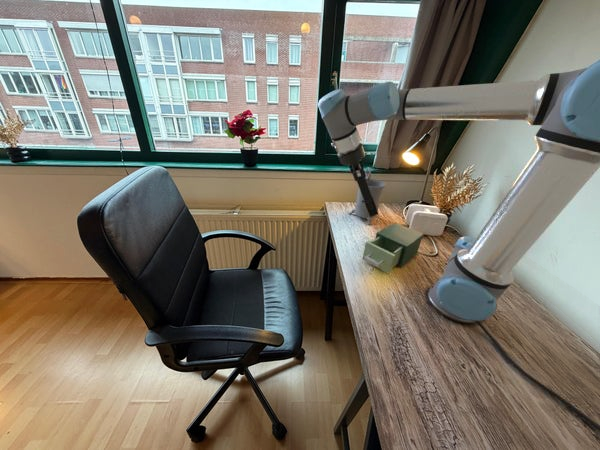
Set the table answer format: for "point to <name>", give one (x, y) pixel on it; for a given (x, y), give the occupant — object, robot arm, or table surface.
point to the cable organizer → (426, 219)
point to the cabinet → (402, 240)
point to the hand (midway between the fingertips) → (370, 203)
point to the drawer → (383, 253)
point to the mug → (375, 191)
